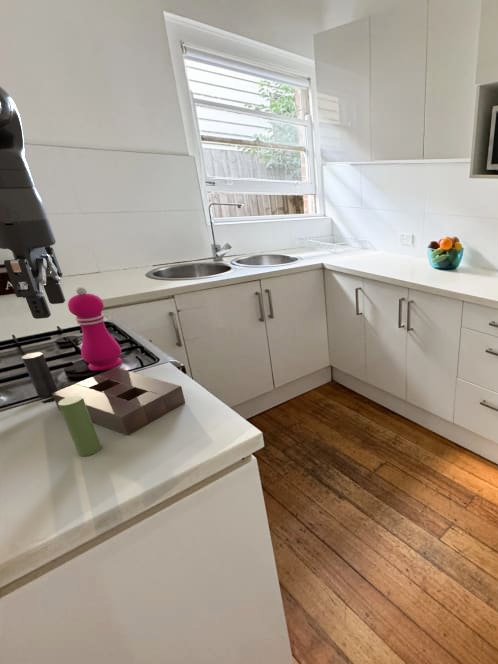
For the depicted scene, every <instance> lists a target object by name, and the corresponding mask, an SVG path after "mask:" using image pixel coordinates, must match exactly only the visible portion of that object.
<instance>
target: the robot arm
mask: <svg viewBox="0 0 498 664" xmlns="http://www.w3.org/2000/svg"><path fill="white" fill-rule="evenodd" d="M20 116H21V115H20V113H19V111H18V108H17V106H16V103H15V102H14V99H13V98H12V97H11V95H10V94H9V93H8V92H7V91H6V89H4V88H3V87H2V86H0V249H1V250H9V251H11V254H12V259H4V260H3V265H4V267H5V270H6V273H7V275H8V278H9V280H10V283H11V286H12V289H13V291H14V295H15V296H16V298H22V299H25V301H26V303H27V306H28V308H29V311H30V313H31V316H32V318H33V319H35V320H39V319H48V318H49V317H51V315H52V313H51V311H50V307H49V305H48V303H49V304H51V305H58V304H60V305H61V304H64V303H65V302H66V298H65V295H64V292H63V289H62V287H61V282H62V279H61V278H63V272H62V269H61V267H60V264H59V261H58V259H57V256H56V253H55V250H54V247H53V246H54V245H55V244H56V237H55V235H54V232H53V229H52V225H51V223H50V220H49V216H48V214H47V211H46V207H45V205H44V202H43V200H42V198H41V196H40V194H39V192H38V190H37V187H36V185H35V182H34V179H33V176H32V173H31V170H30V167H29V164H28V162H27V160H26V155H25V153H26V152H25V140H24V139H25V138H24V132H23V125H22V120H21V117H20ZM44 291H45V293H44ZM45 295H46V297H47V300H46V297H45ZM47 301H48V302H47Z"/></svg>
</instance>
